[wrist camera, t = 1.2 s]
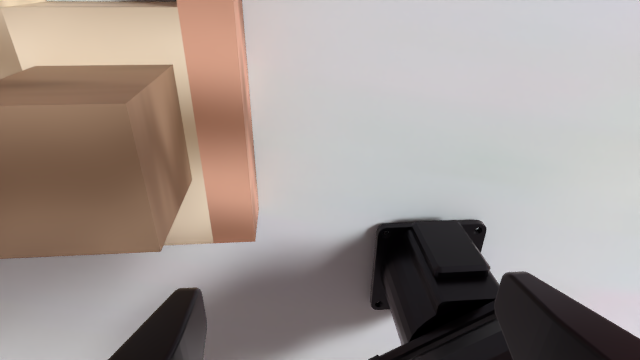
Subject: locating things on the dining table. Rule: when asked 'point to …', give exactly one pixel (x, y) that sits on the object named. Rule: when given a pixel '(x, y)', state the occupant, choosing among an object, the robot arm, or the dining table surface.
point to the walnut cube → (90, 160)
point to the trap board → (191, 80)
